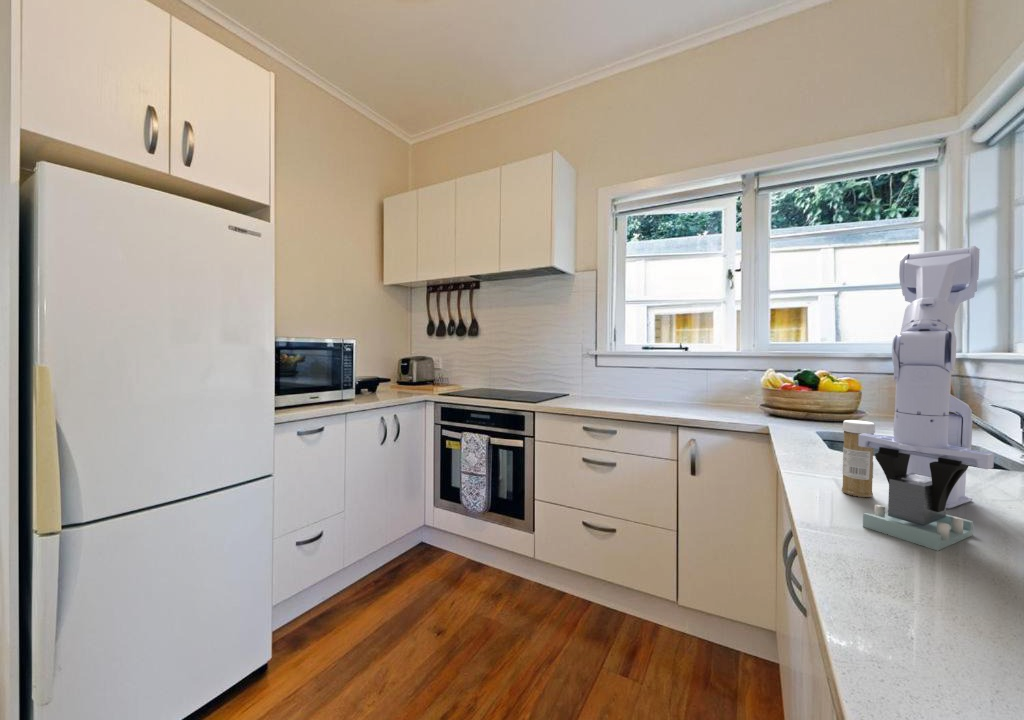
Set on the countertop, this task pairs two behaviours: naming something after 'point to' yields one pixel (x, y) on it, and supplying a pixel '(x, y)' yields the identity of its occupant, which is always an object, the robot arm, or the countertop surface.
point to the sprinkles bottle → (857, 459)
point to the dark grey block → (912, 499)
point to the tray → (920, 529)
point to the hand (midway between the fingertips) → (917, 505)
